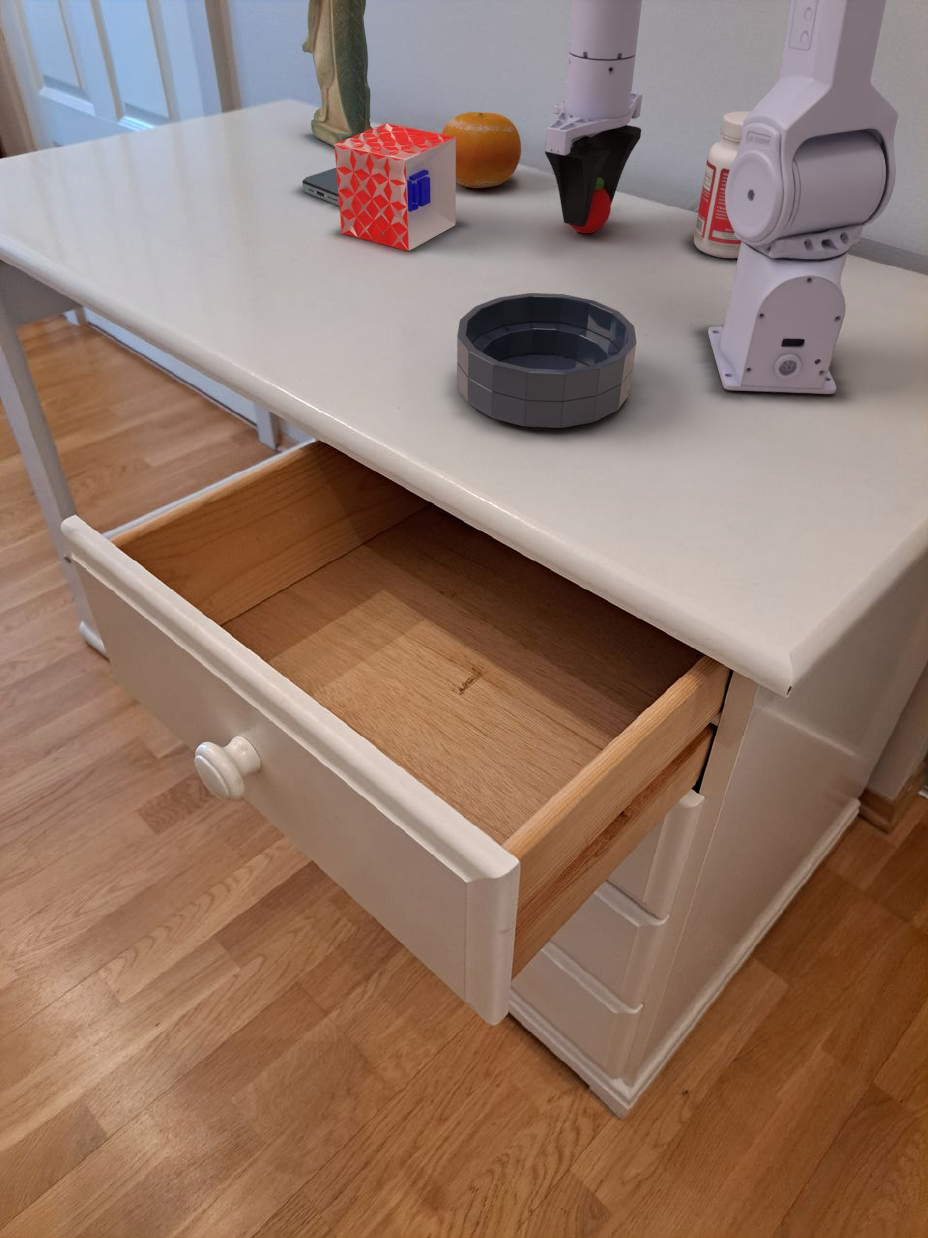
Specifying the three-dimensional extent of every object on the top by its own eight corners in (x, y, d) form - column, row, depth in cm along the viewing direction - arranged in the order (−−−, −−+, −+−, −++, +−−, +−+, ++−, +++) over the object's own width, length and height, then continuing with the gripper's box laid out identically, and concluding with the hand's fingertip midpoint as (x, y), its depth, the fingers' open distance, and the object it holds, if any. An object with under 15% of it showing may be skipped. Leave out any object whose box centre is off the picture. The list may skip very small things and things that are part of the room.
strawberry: (609, 240, 87) (615, 188, 84) (562, 239, 88) (566, 187, 84) (607, 223, 91) (612, 172, 87) (562, 222, 91) (566, 171, 88)
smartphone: (296, 178, 96) (403, 142, 104) (299, 195, 97) (404, 158, 105) (343, 196, 92) (450, 158, 100) (344, 213, 93) (451, 174, 101)
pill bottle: (773, 251, 86) (804, 120, 78) (726, 265, 83) (753, 131, 76) (725, 230, 89) (750, 103, 82) (678, 243, 87) (699, 113, 79)
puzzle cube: (390, 208, 93) (386, 122, 88) (455, 224, 90) (455, 136, 85) (341, 233, 88) (333, 144, 83) (408, 251, 85) (405, 159, 80)
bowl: (632, 437, 62) (642, 376, 59) (451, 430, 62) (451, 369, 59) (622, 352, 71) (629, 295, 68) (464, 346, 71) (464, 290, 68)
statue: (346, 126, 114) (327, -134, 97) (387, 142, 110) (375, -128, 92) (299, 137, 111) (271, -131, 94) (340, 153, 106) (319, -125, 89)
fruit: (530, 134, 100) (498, 71, 94) (535, 189, 96) (501, 127, 90) (461, 167, 104) (426, 109, 97) (463, 221, 100) (426, 164, 94)
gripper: (600, 31, 85) (585, 186, 94) (518, 62, 76) (511, 230, 85) (670, 41, 82) (648, 200, 91) (594, 74, 73) (578, 247, 83)
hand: (586, 216), depth 88 cm, fingers closed on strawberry, 4 cm apart
